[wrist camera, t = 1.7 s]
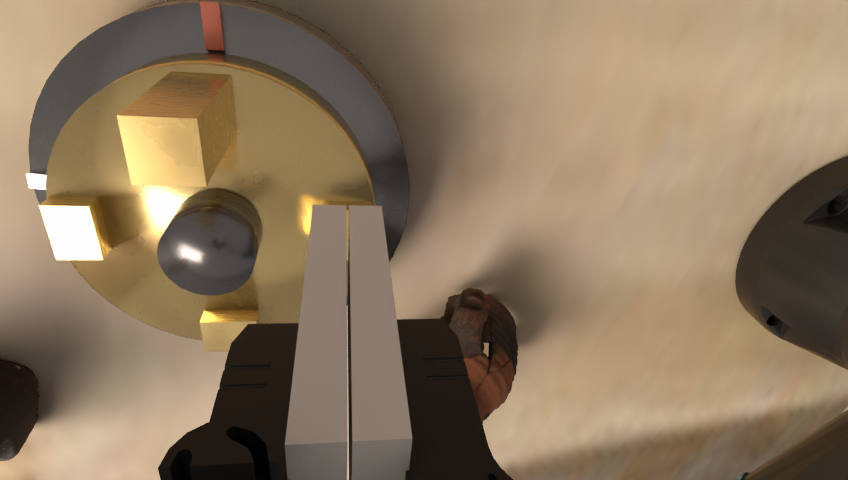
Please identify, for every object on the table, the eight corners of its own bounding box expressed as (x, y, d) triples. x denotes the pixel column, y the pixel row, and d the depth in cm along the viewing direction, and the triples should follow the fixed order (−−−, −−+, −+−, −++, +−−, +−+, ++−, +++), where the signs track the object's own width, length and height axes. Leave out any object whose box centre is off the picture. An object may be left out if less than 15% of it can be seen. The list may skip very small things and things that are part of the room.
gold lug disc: (369, 311, 32) (376, 423, 25) (108, 315, 30) (32, 439, 23) (379, 62, 25) (393, 117, 18) (32, 42, 23) (-118, 96, 15)
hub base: (415, 8, 27) (443, 40, 19) (395, 304, 37) (408, 403, 29) (6, -22, 24) (-152, 0, 16) (100, 307, 34) (27, 419, 26)
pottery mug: (516, 366, 42) (489, 463, 37) (406, 330, 44) (366, 417, 39) (546, 267, 34) (518, 374, 28) (409, 228, 36) (357, 321, 30)
